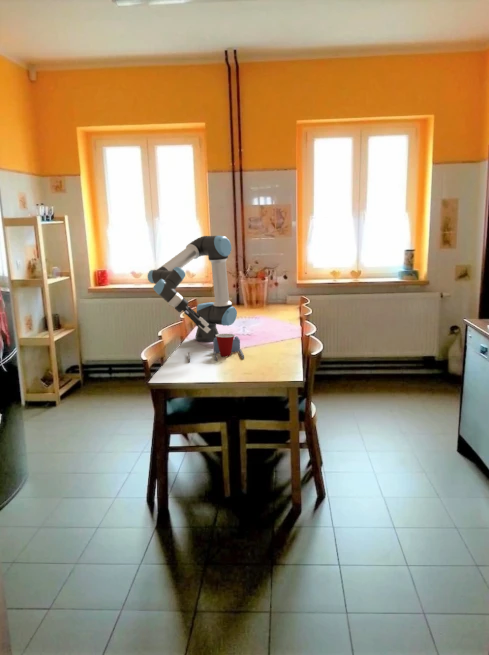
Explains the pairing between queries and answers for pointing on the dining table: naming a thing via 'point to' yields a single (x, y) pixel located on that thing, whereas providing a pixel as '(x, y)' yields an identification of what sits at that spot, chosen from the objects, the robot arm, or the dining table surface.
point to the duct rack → (216, 350)
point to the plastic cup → (225, 344)
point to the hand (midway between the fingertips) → (208, 328)
